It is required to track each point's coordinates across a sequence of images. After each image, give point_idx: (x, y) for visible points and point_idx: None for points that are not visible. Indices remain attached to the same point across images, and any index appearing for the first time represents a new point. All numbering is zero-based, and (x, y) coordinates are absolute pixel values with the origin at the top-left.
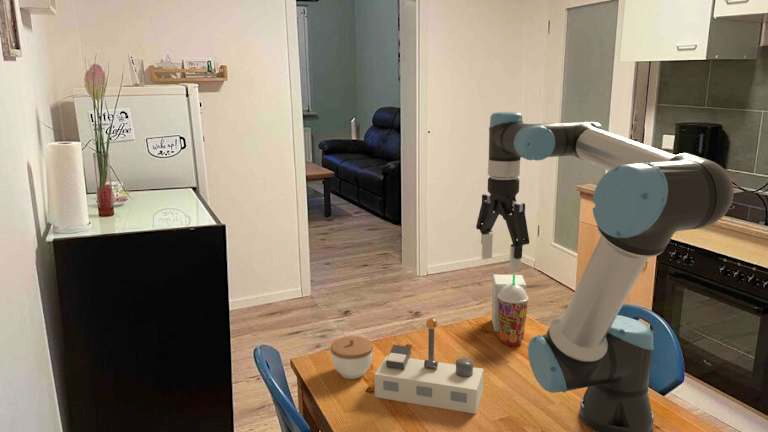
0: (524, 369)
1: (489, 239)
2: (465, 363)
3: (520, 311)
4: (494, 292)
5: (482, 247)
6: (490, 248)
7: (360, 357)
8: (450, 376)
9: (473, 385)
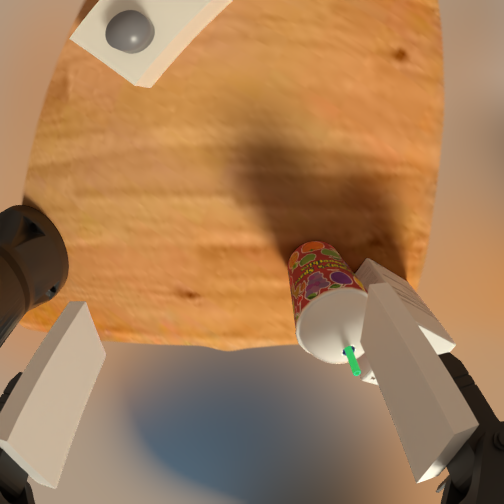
0: (195, 215)
1: (412, 428)
2: (119, 29)
3: (294, 308)
4: (412, 309)
5: (419, 336)
6: (384, 378)
7: None
8: (137, 3)
9: (85, 37)
